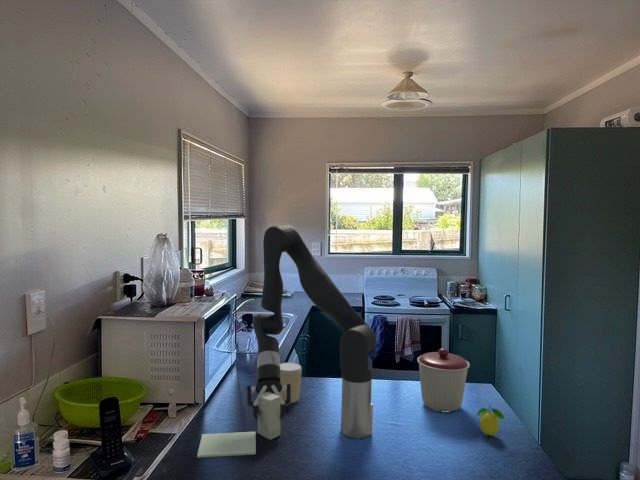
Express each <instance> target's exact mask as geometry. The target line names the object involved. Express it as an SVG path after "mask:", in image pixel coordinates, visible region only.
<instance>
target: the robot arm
mask: <svg viewBox="0 0 640 480" xmlns="http://www.w3.org/2000/svg"><path fill="white" fill-rule="evenodd" d="M262 243H263V287H262V293H261V301H260V306H261V308H262V309H263V310H265V311H268V312H271V313H273V314H267V313H259V314H257V315H255V317H254V318H253V322H252V326H253V327H252V328H253V331H254V334H255V338H256V342H257V361H256V363H257V365H256V385H255V386H251V384H250V385H249V384H248V385H247V386H246V391H247V392H246V393H247V397H246V398H247V399H246V400H247V403H246V404H247V407H248V408H251V409H253V413H252V414H253V415H252V418H253V419H255V422H258V395H259V394H262V393H265V392H271V393H273V394H276V395H278V396H280V420H284V418H285V416H286V406H288V407H289V406H290V405H291V403H290V402H291V385H290V384H288V385H282V384H281V378H280V364H281V361H280V360H281V359H280V344H279V343H280V342H279V340H278V339H277V338H276V337H275V336H277V335H280V334H281V333H282V332H283V329H284V321H283V315H282V301H283V296H284V281H283V277H282V275H281V270H280V264H281V263H280V261H281V258H282V254H283V253H286V254H287V255H288V257H290V258H291V260H292V261H293V262H294V264H295V266H296V269H297V273H298V278H299V282H300V286H301V288H302V290H303V291H304V293H305V294H306V296H307V297H308V298H309V299H310V301H311V302H312V303H313V304H314V305H315V306H316V307H317V308H319V310H321V311H322V312H324V313H325V314H326V315H328V316H329V317H331V318H332V319H333V320H334V321H335V322H336V323H337V324H338V326H339V327H340V328H341V329H342V331H343V333H342V334H341V337H340V340H339V341H340V342H339V367H340V371H341V403H340V404H341V406H340V409H341V410H340V432H341V434H342V435H343V436H345V437H347V438H351V439H362V438H367V437H369V436H373V417H374V415H373V412H374V411H373V410H374V406H373V403H372V385H373V384H372V383H373V382H372V379H373V371H372V369H371V368H370V366H369V353H370V352H371V351H373V349H375V346H376V344H377V337H376V333H375V331H373V329H372V327H370V325H369V324H368V323H367V322H366V321H365V320H364V319H363V318H362V317H361V316H360V315H359V314H358V312H356V310H354V308H353V307H352V305H351V304H350V302H348V300H347V299H346V297H345V296H344V295H343V294H342V292H341V291H340V290H339V289H338V287H337V286H336V284H335V283H334V281H333V280H332V279H331V277H330V276H329V275H328V273H327V272H326V271H325V270H324V269H323V268H322V266H321V265H320V263H319V262H318V261H317V259H316V258H315V256H314V255H313V254H312V253H311V251H310V250H309V248H308V247H307V245H306V243H305V241H304V240H303V238H302V236H301V235H300V233H299V232H298V230H297V229H296V228H295V227H294V226H293V225H291V224H286V223H285V224H279V225H272V226H269V227H268V228H267V229H266V230H265V232H264V234H263V242H262ZM282 389H283V390H284V392H285V393H286V400H285V401H284V400H283V399H282V397H281V395H280V392H281V390H282ZM255 391H256V393H257V396H256V399H255V400H254V401H252V395H253V394H254V393H255Z"/></svg>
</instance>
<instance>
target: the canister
mask: <svg viewBox="0 0 640 480" xmlns="http://www.w3.org/2000/svg"><path fill="white" fill-rule="evenodd" d="M416 360H417V363H418V369H419V381H420V392H421V400H422V402H423V403H424V405H425V406H426V407H427V408H428V407H429V408H428V409H430V408H431V409H430V410H432V409H433V410H432V411H435V410H437V411H436V412H439V411H445V412H444V413H447V412H446V411H454V412H456V411H458V410H459V409H460V408H461V406H462V404H463V399H464V395H465V387H466V381H467V375H468V369H469V368H470V366H471V365H470V362H469V361H467V360H466V358H464V357H462V356H461V355H457V354H453V353H449V350H448V349H447V348H444V347H442V348H439V349H438V351H430V352H426V353H423V354H421V355H419V356H418V357H417V359H416ZM457 409H458V410H457ZM455 410H456V411H455Z"/></svg>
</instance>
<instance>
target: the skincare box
mask: <svg viewBox="0 0 640 480" xmlns="http://www.w3.org/2000/svg"><path fill="white" fill-rule="evenodd" d="M257 396H258V421H257V434H259V435H261V436H262V437H264V438H265V439H267V440H274V439H275V438H278V437H279V436H281V432H282V429H281V428H282V427H281V424H282V423H281V420H280V396H278V395H276V394H273V393H271V392H265V393H262V394H257Z"/></svg>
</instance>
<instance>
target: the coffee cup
mask: <svg viewBox="0 0 640 480" xmlns="http://www.w3.org/2000/svg"><path fill="white" fill-rule="evenodd" d="M302 370H303V369H302V366H301V365H300V364H298V363H295V362H283V363H280V378H281V384H282V385H288V384H290V385H291V402H290V404H291V403H297V402H298V401H299V400H300V392H301V382H302V381H301V380H302ZM280 395H281V397H282V399H283V400H284V401H285V400H286V393H285V392H284V390H283V389H282V390H281V392H280Z"/></svg>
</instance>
